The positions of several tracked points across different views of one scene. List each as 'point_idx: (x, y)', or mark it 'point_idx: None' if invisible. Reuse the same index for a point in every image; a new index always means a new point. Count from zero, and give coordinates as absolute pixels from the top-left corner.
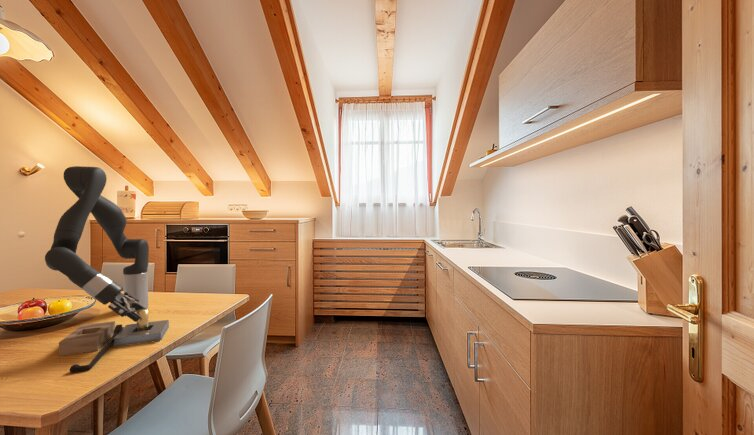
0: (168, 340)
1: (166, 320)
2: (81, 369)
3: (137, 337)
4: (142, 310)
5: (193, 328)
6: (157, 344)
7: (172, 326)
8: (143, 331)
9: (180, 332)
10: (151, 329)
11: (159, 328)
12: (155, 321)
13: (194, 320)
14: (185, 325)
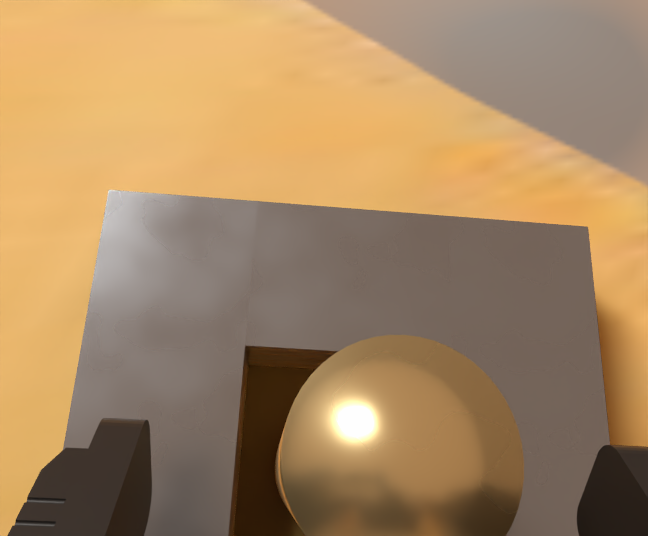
0: (562, 197)
1: (124, 213)
2: None
3: None
4: (426, 448)
5: (306, 15)
6: (638, 279)
7: None
8: None
9: (374, 114)
10: None
11: (432, 258)
12: (86, 347)
13: (35, 6)
14: (165, 80)
